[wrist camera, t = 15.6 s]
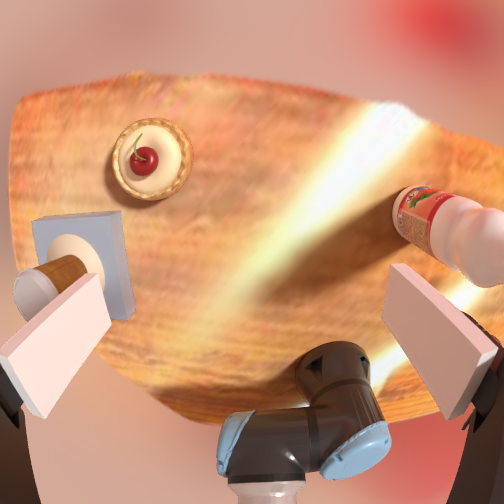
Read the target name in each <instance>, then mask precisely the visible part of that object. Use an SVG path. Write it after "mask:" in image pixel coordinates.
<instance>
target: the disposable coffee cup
mask: <svg viewBox="0 0 504 504" xmlns="http://www.w3.org/2000/svg"><path fill="white" fill-rule="evenodd" d="M86 273H88V272H87V269H86V267H85V265H84V263H83V262H82V261H81V260H80V259H79V258H78V257H77V256H75V255H66V256H63V257H61V258H58V259H55V260H53V261H50V262H48V263H45V264H43V265H40V266H38V267H35V268H33V269H24V270H22V271H21V272H20V273H19V274H18V276H17V279H16V280H15V282H14V285H13V295H14V299H15V302H16V305H17V307H18V309H19V311H20V313H21V314H22V316H23V317H24V318H25V320H26V321H27V322H29V321H30V320H31V319H32V318H33V317H34V316H35V315H36V314H37V313H39V312H40V311H41V310H42V309H43V308H44V307H46V306H47V305H48V304H49V303H50V302H51V301H53V300H54V299H55V298H56V297H57V296H58V295H60V294H61V293H62V292H63V291H64V290H66V289H67V288H68V287H69V286H71V285H72V284H73V283H74V282H75V281H77V280H78V279H79V278H80V277H82V276H83V275H84V274H86Z"/></svg>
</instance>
